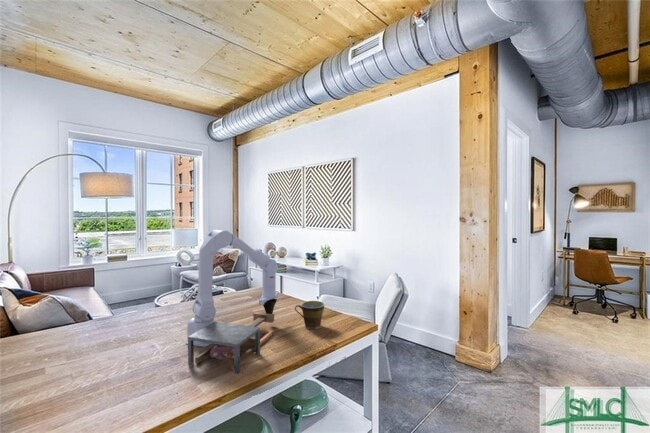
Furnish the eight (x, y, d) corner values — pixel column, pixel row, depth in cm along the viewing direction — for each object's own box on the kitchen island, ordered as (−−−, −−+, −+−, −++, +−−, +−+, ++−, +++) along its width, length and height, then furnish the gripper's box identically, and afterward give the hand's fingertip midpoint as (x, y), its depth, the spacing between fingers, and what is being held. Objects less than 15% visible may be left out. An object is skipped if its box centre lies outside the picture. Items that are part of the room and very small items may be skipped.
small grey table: (188, 364, 101) (187, 336, 101) (215, 346, 115) (214, 321, 114) (237, 374, 96) (237, 344, 95) (260, 353, 109) (259, 327, 109)
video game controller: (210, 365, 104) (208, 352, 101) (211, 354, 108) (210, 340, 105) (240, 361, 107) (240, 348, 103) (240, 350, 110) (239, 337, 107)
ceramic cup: (325, 323, 138) (325, 301, 137) (323, 332, 128) (323, 308, 127) (297, 321, 139) (297, 300, 139) (292, 330, 129) (292, 307, 129)
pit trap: (225, 345, 116) (225, 341, 116) (245, 330, 129) (245, 327, 129) (255, 349, 112) (255, 345, 112) (273, 334, 125) (273, 330, 125)
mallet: (195, 363, 102) (195, 345, 102) (249, 325, 134) (249, 311, 134) (234, 370, 97) (233, 351, 97) (280, 329, 130) (280, 314, 130)
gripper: (269, 290, 127) (269, 322, 127) (284, 282, 141) (284, 311, 141) (254, 289, 129) (254, 321, 130) (270, 281, 143) (270, 309, 143)
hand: (269, 315), depth 136 cm, fingers closed
